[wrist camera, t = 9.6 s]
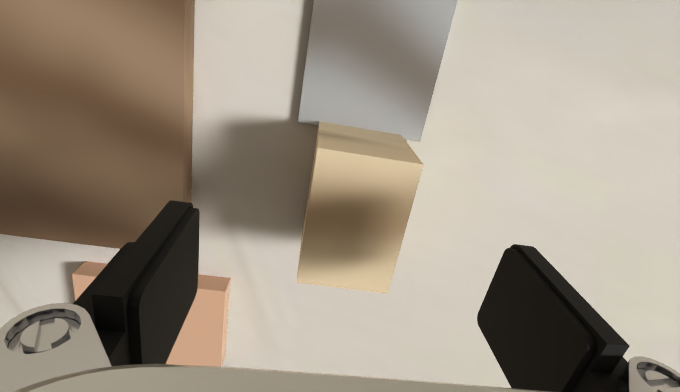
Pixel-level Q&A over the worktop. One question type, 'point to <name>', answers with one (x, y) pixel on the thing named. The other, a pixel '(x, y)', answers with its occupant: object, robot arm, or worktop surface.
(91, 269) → the tile
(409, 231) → the worktop surface
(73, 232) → the board
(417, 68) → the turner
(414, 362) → the worktop surface
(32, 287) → the worktop surface
